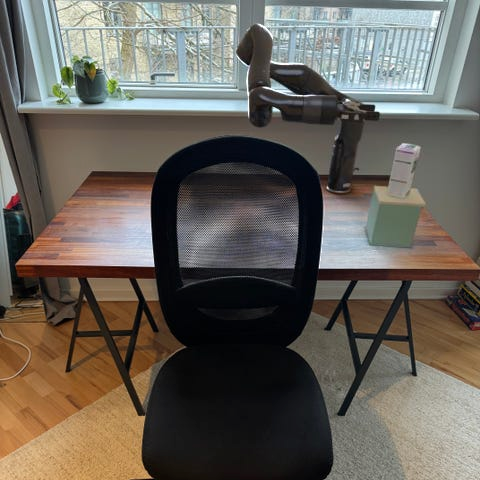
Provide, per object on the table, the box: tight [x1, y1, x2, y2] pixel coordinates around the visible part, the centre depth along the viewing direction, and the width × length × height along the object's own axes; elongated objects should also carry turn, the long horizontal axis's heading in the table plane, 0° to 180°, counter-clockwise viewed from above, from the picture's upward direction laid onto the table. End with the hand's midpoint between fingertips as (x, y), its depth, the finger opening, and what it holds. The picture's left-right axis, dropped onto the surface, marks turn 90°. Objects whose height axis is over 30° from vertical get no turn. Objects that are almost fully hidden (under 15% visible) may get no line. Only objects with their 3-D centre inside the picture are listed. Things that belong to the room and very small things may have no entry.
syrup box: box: [387, 142, 422, 199], centre depth 136 cm, size 6×6×14 cm
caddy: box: [365, 189, 423, 249], centre depth 145 cm, size 13×13×14 cm
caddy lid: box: [373, 185, 426, 208], centre depth 140 cm, size 13×13×1 cm
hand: (377, 112), depth 127 cm, fingers open, 8 cm apart
